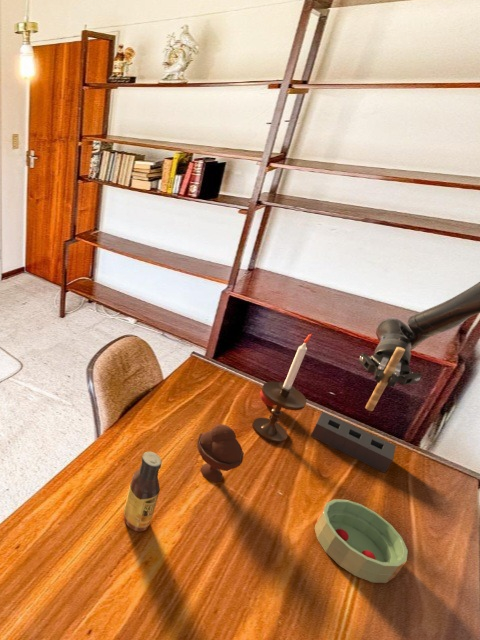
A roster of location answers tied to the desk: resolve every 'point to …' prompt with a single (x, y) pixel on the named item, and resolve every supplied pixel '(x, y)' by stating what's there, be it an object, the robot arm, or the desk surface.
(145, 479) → the sauce bottle
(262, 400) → the onion
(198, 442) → the ice cream bowl
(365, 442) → the stand
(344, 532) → the berry
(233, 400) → the desk surface
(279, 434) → the candlestick
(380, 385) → the stirring stick
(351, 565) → the bowl
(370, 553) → the berry
